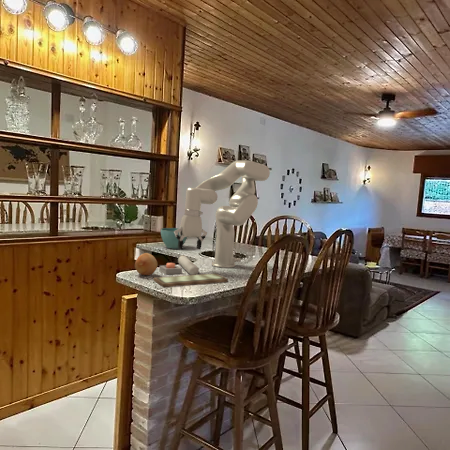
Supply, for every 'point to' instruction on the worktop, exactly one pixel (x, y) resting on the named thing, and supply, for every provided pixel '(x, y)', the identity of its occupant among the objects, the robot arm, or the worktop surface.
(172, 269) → the button housing
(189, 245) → the worktop surface
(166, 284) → the board
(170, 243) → the plant pot
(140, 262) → the onion
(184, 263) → the tube
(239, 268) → the worktop surface
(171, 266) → the button
